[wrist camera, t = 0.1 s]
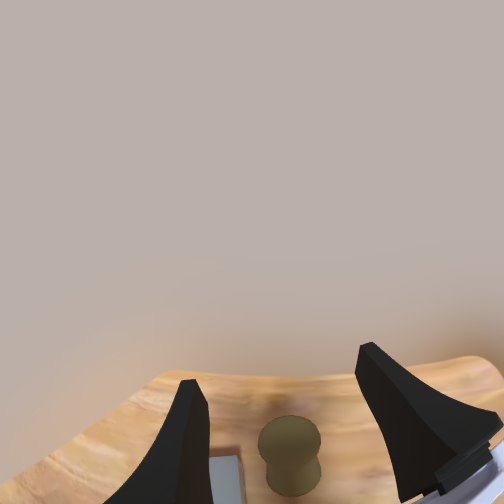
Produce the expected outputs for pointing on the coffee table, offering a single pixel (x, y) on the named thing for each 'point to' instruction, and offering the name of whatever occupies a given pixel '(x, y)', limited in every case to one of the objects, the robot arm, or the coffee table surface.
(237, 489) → the plate
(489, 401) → the coffee table surface
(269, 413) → the coffee table surface
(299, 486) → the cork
